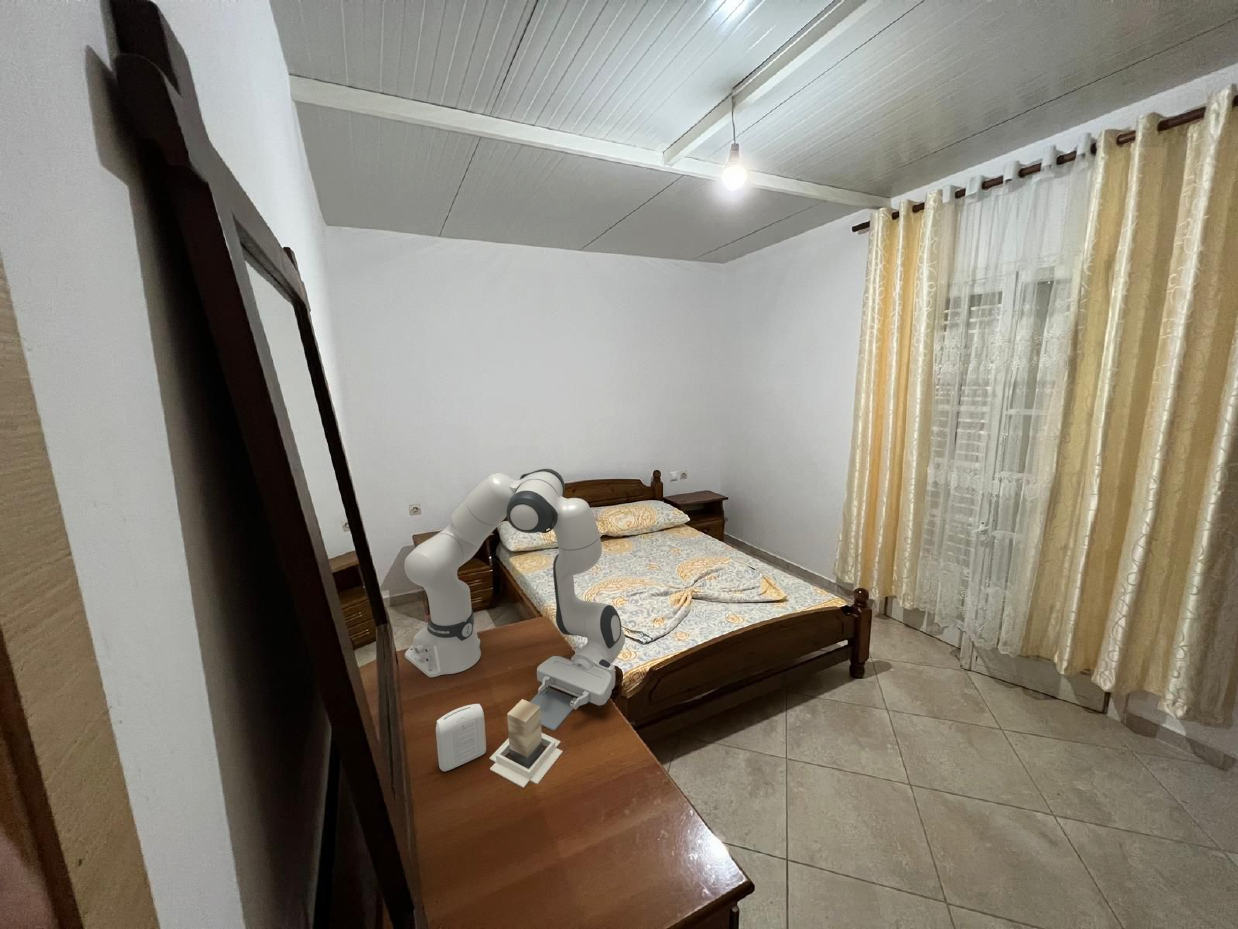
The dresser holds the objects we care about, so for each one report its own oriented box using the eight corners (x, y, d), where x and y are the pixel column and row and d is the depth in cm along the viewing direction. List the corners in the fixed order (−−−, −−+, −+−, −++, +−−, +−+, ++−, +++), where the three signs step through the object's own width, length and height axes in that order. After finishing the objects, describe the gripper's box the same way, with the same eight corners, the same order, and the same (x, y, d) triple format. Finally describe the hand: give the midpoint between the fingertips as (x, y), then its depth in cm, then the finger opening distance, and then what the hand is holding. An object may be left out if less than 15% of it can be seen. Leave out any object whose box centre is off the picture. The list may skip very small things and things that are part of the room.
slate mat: (518, 715, 117) (518, 713, 117) (545, 687, 126) (545, 686, 126) (554, 731, 112) (554, 730, 112) (579, 702, 121) (579, 700, 121)
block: (510, 759, 104) (507, 713, 101) (524, 743, 108) (522, 699, 106) (528, 769, 102) (525, 722, 99) (542, 752, 106) (540, 706, 103)
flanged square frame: (483, 766, 103) (482, 758, 102) (522, 724, 114) (521, 717, 113) (531, 792, 97) (530, 784, 96) (567, 745, 108) (567, 738, 107)
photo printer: (483, 740, 109) (479, 695, 106) (489, 753, 106) (485, 707, 103) (437, 761, 104) (431, 714, 101) (441, 776, 100) (436, 727, 97)
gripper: (554, 644, 130) (521, 674, 118) (620, 668, 120) (591, 702, 108) (555, 664, 131) (522, 696, 119) (620, 689, 122) (592, 725, 110)
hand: (556, 699), depth 114 cm, fingers open, 8 cm apart
